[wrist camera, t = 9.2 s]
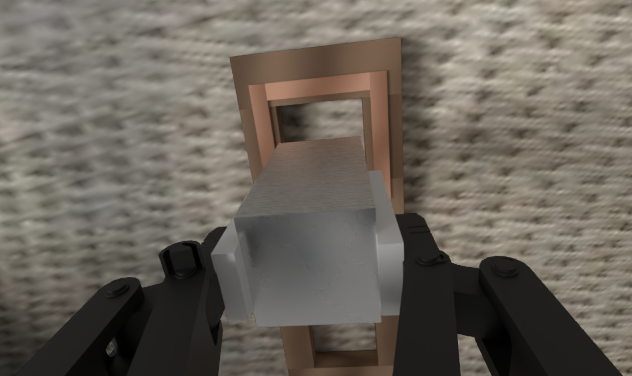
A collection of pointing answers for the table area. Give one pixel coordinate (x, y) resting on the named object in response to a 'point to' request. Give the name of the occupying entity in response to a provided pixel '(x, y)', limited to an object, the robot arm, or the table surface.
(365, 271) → the steel block
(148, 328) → the robot arm
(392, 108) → the walnut rail
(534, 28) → the table surface
